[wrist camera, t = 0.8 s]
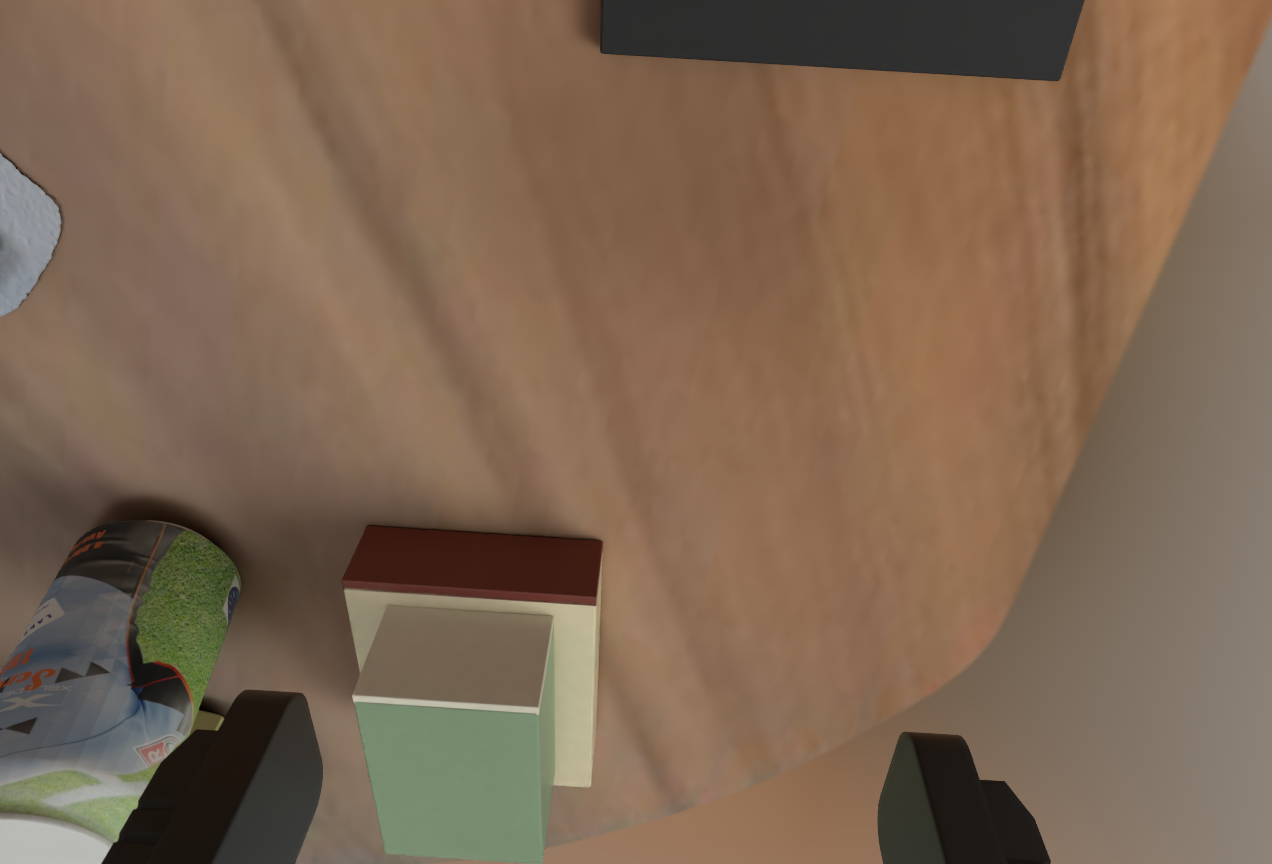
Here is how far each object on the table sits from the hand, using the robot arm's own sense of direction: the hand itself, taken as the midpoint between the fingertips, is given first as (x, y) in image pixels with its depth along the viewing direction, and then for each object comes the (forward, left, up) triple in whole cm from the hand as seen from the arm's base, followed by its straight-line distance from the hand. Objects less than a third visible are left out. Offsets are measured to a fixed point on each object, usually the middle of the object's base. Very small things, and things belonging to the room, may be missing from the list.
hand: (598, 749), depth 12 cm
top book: (+17, -5, -14) cm, 23 cm away
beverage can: (+14, -17, -18) cm, 29 cm away
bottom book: (+17, -5, -17) cm, 25 cm away
